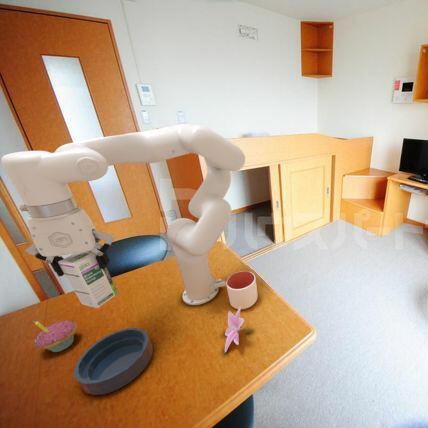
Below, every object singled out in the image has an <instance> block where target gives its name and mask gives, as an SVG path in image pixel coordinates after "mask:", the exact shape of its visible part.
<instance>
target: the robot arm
mask: <svg viewBox="0 0 428 428" xmlns="http://www.w3.org/2000/svg"><path fill="white" fill-rule="evenodd" d="M189 154H195V155H197V156H201V157H202V158H203V159H204V162H205V165H206V175H205V177H204V179H203V181H202V183H201V184H200V185H199V187H198V189H197V190H196V192H195V193H194V195H193V196H192V198H191V199H190V201H189V203H188V208H187V209H188V211H189V213H190V215H192V216H193V217H195V218H196V219H198V221H194V220H192V219H191V218H186V217H181V218H176V219H174V220H173V221H171V223H169V225H168V227H167V230H166V237H167V240H168V243H169V245H170V247H171V249H172V252H173V254H174V258H175V260H176V262H177V266H178V270H179V273H180V276H181V280H182V283H183V284H182V285H183V287H184V291H183V293H182V300H183V303H184V304H186V305H188V306H199V305H203V304H206V303H208V302H209V301H211V300H213V299H214V298H215V297H216V296H217V295H218V293H219V291H220V290H219V289H220V288H224V287H227V286H226V280H223V278H218V279H215V277H214V276H213V275H212V273H211V268H210V263H209V259H208V253H209V252H211V250H212V249H213V248H214V247H215V245H216V244H217V242H218V240H219V239H220V238H221V235H222V234H223V232H224V231H225V229H226V227H227V226H228V224H229V222H230V220H231V217H232V212H233V211H232V206H231V204H230V203H229V201H227V200H226V199H225V197H226V195H227V193H228V191H229V189H230V187H231V183H232V177H231V176H232V175H231V172H238V171H240V170H241V169H242V168H243V167H244V165H245V163H246V156H245V153H244V151H243V150H242V148H240V147H239V146H238V145H236V144H235V143H233V142H232V141H230V140H228V139H227V138H225V137H223V135H221V134H219V133H217V132H216V131H215V130H212V129H211V128H209V127H207V126H205V125H201V124H193V123H182V124H181V123H180V124H175V125H170V126H169V125H168V126H164V127H160V128H155V129H148V130H142V131H136V132H128V133H124V134H115V135H108V136H102V137H96V138H95V137H94V138H89V139H83V140H78V141H73V142H70V143H69V142H68V143H65V144H62V145H60V146H59V147H57V148H56V149H55V151H54V152H49V151H47V150H23V151H16V152H11V153H7V154H4V155H3V156H2V157H1V160H0V162H1V164H2V168H3V169H4V170H5V172H6V174H7V176H8V178H9V179H10V181H11V183H12V185H13V186H14V188H15V190H16V192H17V194H18V195H19V197H20V199H21V201H22V203H23V205H19V210H20V211H21V212H27V213H28V215H29V216H28V217H27V218H26V221H27V226H28V230H29V232H30V233H29V234H30V236H31V239H32V241H33V243H31V244H30V246H28V247H27V248H26V249H25V250H24V252H25V253H27V254H29V255H31V256H33V257H35V259H39V260H40V261H44V262H45V264H47V265H50V266H51V268H52V270H53V271H54V272H55V273H56V275H57V276H58V277H63V276H65V274H64V273H63V271H62V269H61V267H60V266H59V264H58V261H60V260H63V259H65V258H64V257H63V256H66V255H68V256H69V255H73V254H75V253H81V252H87V251H91V252H93V253H95V254H96V255H97V256H96V260H97V262H98V264H99V266H100V268H101V269H105V268H107V266H108V265H109V263H110V262H111V261H110V257H109V255H108V253H107V250H108V249H109V248H110V246H111V245H112V243H113V242H114V240H115V236H114V235H112V234H109V233H105V232H103V231H99V230H98V229H97V228H96V226H95V224H94V222H93V220H92V219H91V218H90V216H89V215H88V214H87V212H86V210H85V209H83V208H82V207H79V206H78V205H79V204H78V203H77V201H76V199H75V196H74V195H73V192H72V190H71V188H70V186H69V183H82V182H84V183H85V182H93V181H96V180H100V179H101V178H103V177H104V176H106V174H107V173H108V170H109V167H112V166H116V165H122V164H155V163H160V162H163V161H168V160H171V159H173V158H178V157H181V156H184V155H189ZM101 241H104V243H103V244H102V243H101Z"/></svg>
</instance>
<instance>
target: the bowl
mask: <svg viewBox="0 0 428 428" xmlns="http://www.w3.org/2000/svg"><path fill="white" fill-rule="evenodd" d="M153 353H154V347H153V343H152V342H151V339H150V336H149V334H148V333H147V332H146V331H145V330H144V329H142V328H138V327H126V328H123V329H119V330H116V331H114V332H112V333H109V334H107V335H106V336H103V337H102V338H100V339H99V340H97V341H96V342H94V343H93V344H92V345H91V346H90V347H89V348H88V349H86V350H85V351H84V353H82V355H81V356H80V357H79V358H78V360H77V363H76V364H75V366H74V368H73V369H74V371H73V376H74V378H75V379H76V381H77V383H78V384H79V386H80V387H81V388H82V389H83V392H84V393H86V394H89V395H91V396H100V395H101V396H102V395H107V394H110V393H113V392H116V391H118V390H119V389H121V388H123V387H125V386H127V385H128V384H129V383H131V382H132V381H133V380H135V379H136V378H137V377H139V375H140V374H141V373H142V372H143V371H144V370H145V369H146V368H147V367H148V365H149V363H150V361H151V359H152V357H153Z"/></svg>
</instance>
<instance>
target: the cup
mask: <svg viewBox="0 0 428 428" xmlns="http://www.w3.org/2000/svg"><path fill="white" fill-rule="evenodd" d="M225 282H226V286H225V287H226V291H227V296H228V300H229V301H228V302H229V304H230V306H231V307H232V308H234V309H235V310H238V309H239V308H240V307H241V310H246V309H248V308H250V307H253V305H254V304H256V303H257V300H258V297H259V294H258V288H257V287H258V286H257V279H256V275H255V274H254V273H253V272H252V271H249V270H240V271H237V272H234V273H233V274H231V275H229V277H228V278H227V279H226V280H225Z"/></svg>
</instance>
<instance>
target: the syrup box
mask: <svg viewBox="0 0 428 428" xmlns="http://www.w3.org/2000/svg"><path fill="white" fill-rule="evenodd" d="M96 256H97V255H96V254H95V253H93V252H91V251H87V252H81V253H74V254H70V255H68V256H67V257H65V258H64V259H63V260H60V261H58V264H59V266H60V267H61V269H62V271H63V273H64V276H65V278H66V279H67V282H68V283H69V285H70V287H71V288H72V290H73V292H74V293H75V295H76V297H77V298H78V300H79V302H80V303H81V305H84V306H86V307H89V308H94V309H99V308H101V306H103V305H105V304H106V303H107V302H109V301H110V300H111V299H113V298H115V296H118V294H119V291H118V289H117V287H116V285H115V283H114V281H113V278H112V277H111V274H110V272H109V270H108V268H107V267H106V268H105V269H101V268H100V266H99V264H98V262H97V260H96Z"/></svg>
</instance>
